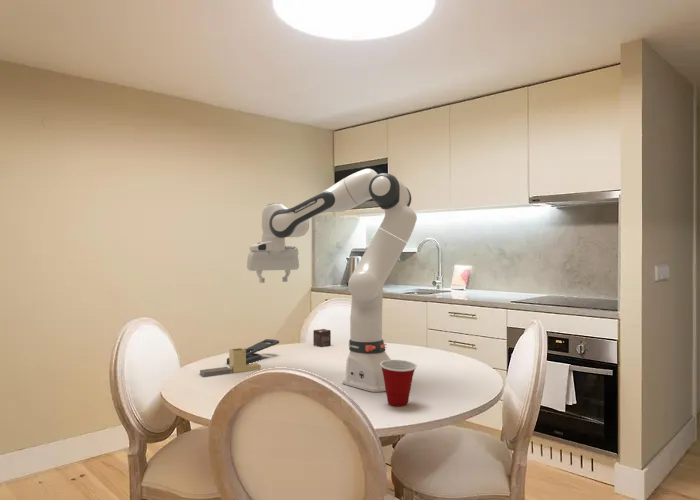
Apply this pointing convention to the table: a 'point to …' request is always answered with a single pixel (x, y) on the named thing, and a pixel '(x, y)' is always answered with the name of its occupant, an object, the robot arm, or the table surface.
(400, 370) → the plastic cup
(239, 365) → the tan l-shaped bracket
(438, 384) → the table surface
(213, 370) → the fixed leaf
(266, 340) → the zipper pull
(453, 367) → the table surface
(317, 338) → the box
